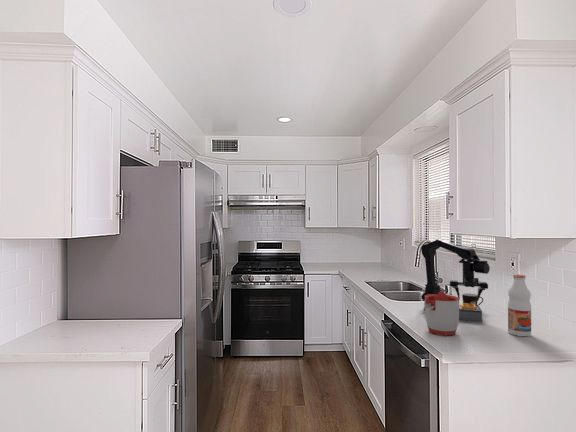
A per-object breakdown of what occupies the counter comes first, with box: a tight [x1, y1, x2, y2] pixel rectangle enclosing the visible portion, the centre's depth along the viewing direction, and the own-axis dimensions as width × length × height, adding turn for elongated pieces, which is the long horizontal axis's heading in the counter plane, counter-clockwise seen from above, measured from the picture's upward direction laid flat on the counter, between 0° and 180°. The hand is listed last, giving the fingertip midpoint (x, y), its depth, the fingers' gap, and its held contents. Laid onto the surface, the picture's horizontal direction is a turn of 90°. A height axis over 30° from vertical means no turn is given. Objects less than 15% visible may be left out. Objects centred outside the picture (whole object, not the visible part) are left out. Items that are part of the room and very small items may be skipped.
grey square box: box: [459, 302, 483, 323], centre depth 203 cm, size 12×12×8 cm
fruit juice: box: [507, 274, 532, 337], centre depth 176 cm, size 9×9×28 cm
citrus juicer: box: [423, 290, 461, 337], centre depth 177 cm, size 16×17×20 cm
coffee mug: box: [461, 292, 484, 307], centre depth 219 cm, size 12×9×10 cm
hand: (468, 300), depth 204 cm, fingers open, 9 cm apart
